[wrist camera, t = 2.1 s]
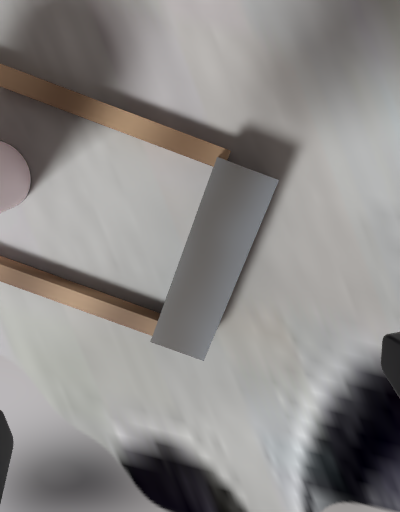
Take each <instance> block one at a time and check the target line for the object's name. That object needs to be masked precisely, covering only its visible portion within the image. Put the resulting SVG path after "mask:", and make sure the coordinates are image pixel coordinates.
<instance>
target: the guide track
mask: <svg viewBox="0 0 400 512" xmlns="http://www.w3.org/2000/svg"><path fill="white" fill-rule="evenodd" d="M0 87H3V88H6V89H8V90H11V91H14V92H16V93H19V94H22V95H24V96H27V97H30V98H32V99H35V100H38V101H40V102H43V103H46V104H48V105H51V106H54V107H56V108H59V109H61V110H64V111H67V112H69V113H72V114H75V115H77V116H80V117H83V118H85V119H88V120H91V121H93V122H96V123H99V124H101V125H104V126H107V127H109V128H112V129H115V130H117V131H120V132H123V133H125V134H128V135H131V136H133V137H136V138H139V139H141V140H144V141H147V142H149V143H152V144H155V145H157V146H160V147H163V148H165V149H168V150H170V151H173V152H176V153H178V154H181V155H184V156H186V157H189V158H192V159H194V160H197V161H200V162H202V163H205V164H208V165H210V166H213V170H212V173H211V176H210V178H209V181H208V184H207V187H206V189H205V192H204V195H203V198H202V200H201V203H200V206H199V209H198V211H197V214H196V217H195V220H194V223H193V225H192V228H191V231H190V234H189V236H188V239H187V242H186V245H185V247H184V250H183V253H182V256H181V259H180V261H179V264H178V267H177V270H176V272H175V275H174V278H173V281H172V283H171V286H170V289H169V292H168V294H167V297H166V300H165V303H164V306H163V308H162V311H161V313H158V312H155V311H152V310H149V309H147V308H144V307H141V306H138V305H136V304H133V303H130V302H127V301H125V300H122V299H119V298H116V297H114V296H111V295H108V294H105V293H102V292H100V291H97V290H94V289H91V288H89V287H86V286H83V285H80V284H78V283H75V282H72V281H69V280H66V279H64V278H61V277H58V276H55V275H53V274H50V273H47V272H44V271H42V270H39V269H36V268H33V267H30V266H28V265H25V264H22V263H19V262H17V261H14V260H11V259H8V258H6V257H3V256H0V281H1V282H4V283H7V284H9V285H12V286H15V287H18V288H20V289H23V290H26V291H29V292H32V293H34V294H37V295H40V296H43V297H46V298H48V299H51V300H54V301H57V302H59V303H62V304H65V305H68V306H71V307H73V308H76V309H79V310H82V311H85V312H87V313H90V314H93V315H96V316H98V317H101V318H104V319H107V320H110V321H112V322H115V323H118V324H121V325H124V326H126V327H129V328H132V329H135V330H137V331H140V332H143V333H146V334H149V335H151V336H152V339H151V342H152V343H155V344H158V345H161V346H164V347H166V348H169V349H172V350H175V351H178V352H180V353H183V354H186V355H189V356H191V357H194V358H197V359H200V360H203V361H204V359H205V356H206V354H207V352H208V349H209V347H210V345H211V342H212V340H213V337H214V335H215V333H216V330H217V328H218V325H219V323H220V321H221V318H222V316H223V313H224V311H225V309H226V306H227V304H228V301H229V299H230V297H231V294H232V292H233V289H234V287H235V285H236V282H237V280H238V277H239V275H240V273H241V270H242V268H243V265H244V263H245V261H246V258H247V256H248V253H249V251H250V249H251V246H252V244H253V241H254V239H255V237H256V234H257V232H258V229H259V227H260V225H261V222H262V220H263V217H264V215H265V213H266V210H267V208H268V205H269V203H270V201H271V198H272V196H273V193H274V191H275V189H276V186H277V184H278V181H279V180H277V179H275V178H272V177H269V176H267V175H264V174H261V173H259V172H256V171H253V170H251V169H248V168H245V167H243V166H240V165H238V164H235V163H232V162H230V161H227V160H228V157H229V155H230V152H231V151H230V150H228V149H225V148H222V147H220V146H217V145H214V144H212V143H209V142H206V141H204V140H201V139H199V138H196V137H193V136H191V135H188V134H185V133H183V132H180V131H177V130H175V129H172V128H169V127H167V126H164V125H161V124H159V123H156V122H154V121H151V120H148V119H146V118H143V117H140V116H138V115H135V114H132V113H130V112H127V111H124V110H122V109H119V108H117V107H114V106H111V105H109V104H106V103H103V102H101V101H98V100H95V99H93V98H90V97H87V96H85V95H82V94H80V93H77V92H74V91H72V90H69V89H66V88H64V87H61V86H58V85H56V84H53V83H50V82H48V81H45V80H42V79H40V78H37V77H35V76H32V75H29V74H27V73H24V72H21V71H19V70H16V69H13V68H11V67H8V66H5V65H3V64H0Z"/></svg>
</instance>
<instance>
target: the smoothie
mask: <svg viewBox="0 0 400 512" xmlns="http://www.w3.org/2000/svg"><path fill="white" fill-rule="evenodd" d="M30 184H31V176H30V171H29V167H28V165H27V163H26V161H25V159H24V158H23V156H22V155H21V154H20V153H19V152H18V151H17V150H16V149H15V148H14V147H12V146H11V145H9V144H7V143H5V142H2V141H0V213H2V212H4V211H6V210H9V209H11V208H13V207H15V206H17V205H19V204H20V203H21V202H22V201H23V200H24V199H25V198H26V196H27V194H28V192H29V189H30Z"/></svg>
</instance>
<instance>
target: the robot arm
mask: <svg viewBox="0 0 400 512" xmlns="http://www.w3.org/2000/svg"><path fill="white" fill-rule="evenodd" d="M381 366H382V370H383V372H384V374H385V375H386V377H387V379H388V380H389V382H390V383H391V385H392V386H393V388H394V389H395V391H396V393H397V394H398V396H399V397H400V332H397V333H392V334H387V335H385V336H384V337H383V341H382V355H381ZM12 450H13V436H12V433H11V431H10V428H9V426H8V424H7V421H6V418H5V416H4V414H3V412H2V411H1V410H0V503H1V499H2V494H3V489H4V485H5V481H6V476H7V472H8V467H9V463H10V459H11V454H12Z"/></svg>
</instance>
